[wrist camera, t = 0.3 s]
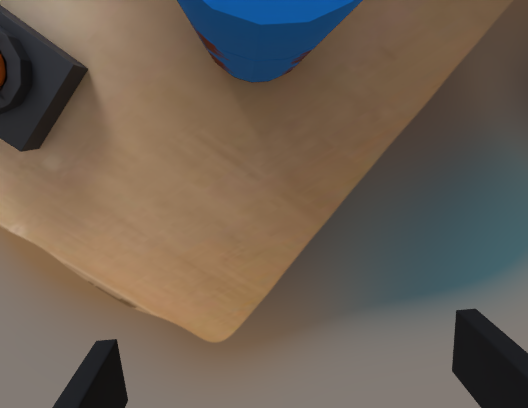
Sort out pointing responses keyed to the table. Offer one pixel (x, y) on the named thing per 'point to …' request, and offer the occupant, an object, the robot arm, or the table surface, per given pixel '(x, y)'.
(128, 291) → the table surface
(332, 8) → the thermos
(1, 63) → the button
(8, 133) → the black button base
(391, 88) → the table surface
